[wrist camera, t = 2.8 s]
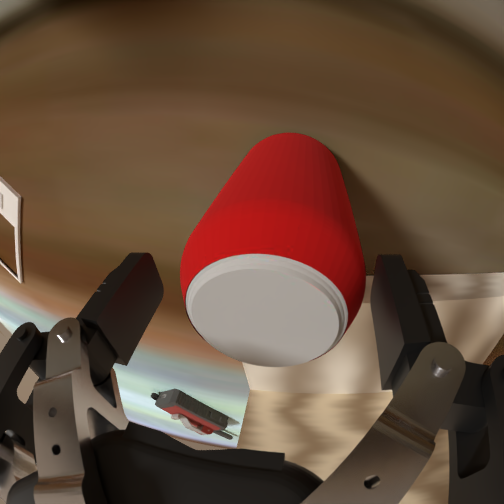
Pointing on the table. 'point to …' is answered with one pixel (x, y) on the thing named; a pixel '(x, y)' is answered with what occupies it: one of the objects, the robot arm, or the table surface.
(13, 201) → the photo frame
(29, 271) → the table surface
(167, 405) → the walkie-talkie
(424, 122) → the table surface
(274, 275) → the beverage can
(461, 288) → the counter stand
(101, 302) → the robot arm
